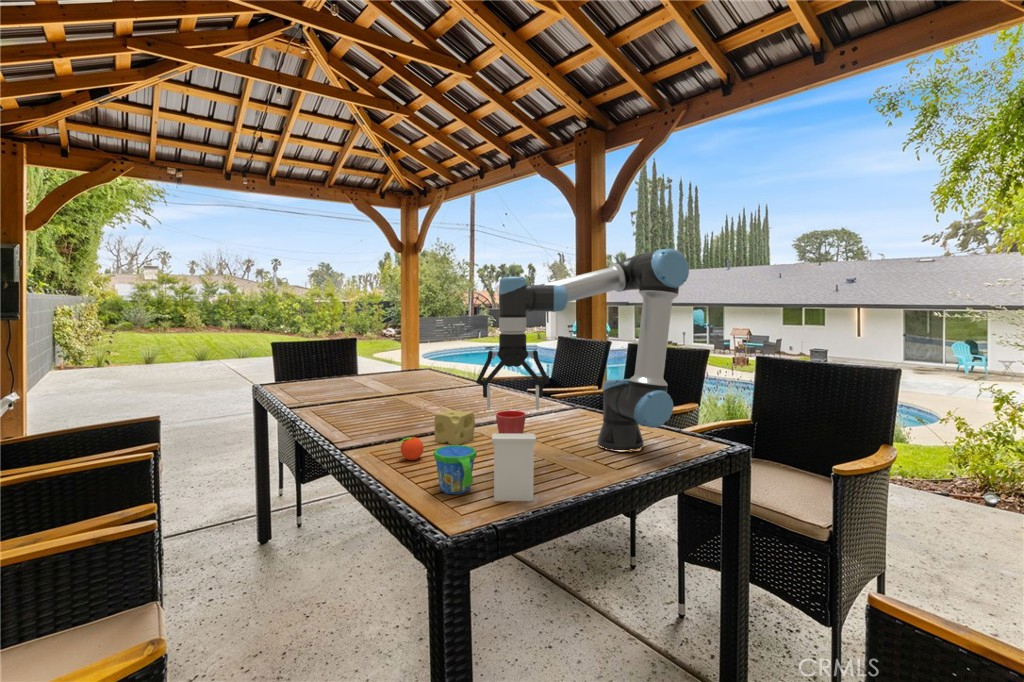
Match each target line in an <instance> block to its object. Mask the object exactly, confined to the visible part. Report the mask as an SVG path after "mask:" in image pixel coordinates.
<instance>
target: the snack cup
mask: <svg viewBox="0 0 1024 682" xmlns="http://www.w3.org/2000/svg"><path fill="white" fill-rule="evenodd" d="M477 454H478V453H477V450H476V449H475V448H474V447H472V446H468V445H462V444H460V445H450V444H449V445H445V446H440V447H438V448H436V449H435V450H434V451H433V458H434V459H435V464H436V470H437V471H436V472H437V477H438V485H439V489H440V491H441V492H442V493H445V494H446V495H450V494H451V495H461V494H463V493H466V492H467V491H469V490H470V489H471V485H472V484H473V483H474V477H473V470H474V464H475V463H474V462H475V460H476V459H475V458H476V457H477Z"/></svg>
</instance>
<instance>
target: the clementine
mask: <svg viewBox="0 0 1024 682" xmlns="http://www.w3.org/2000/svg"><path fill="white" fill-rule="evenodd" d="M401 442H402V443H401ZM400 443H401V445H400V454H401V455H402V457H403V458H404V459H406V460H407V461H414V460H415V461H416V460H417V459H419V458H420V457H421V456H422V455H423V452H424V449H425V448H424V444H423V441H422V440H421V439H420V438H418V437H415V436H410V437H404V438H403V439H402V440H400V441H399V442H398V444H400Z"/></svg>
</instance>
